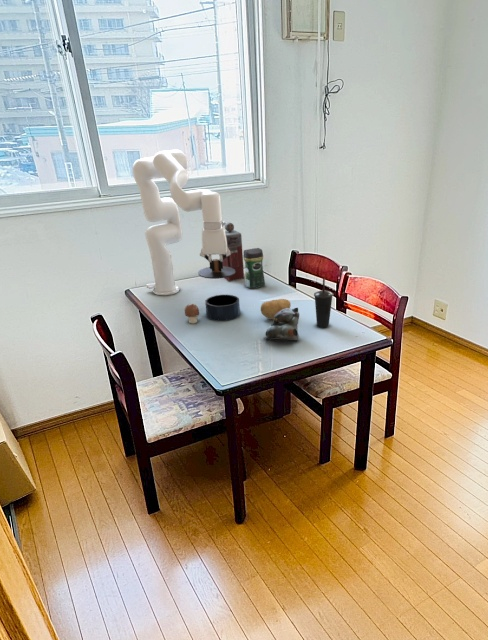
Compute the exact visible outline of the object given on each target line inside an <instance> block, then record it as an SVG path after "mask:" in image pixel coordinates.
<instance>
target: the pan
mask: <svg viewBox="0 0 488 640" xmlns="http://www.w3.org/2000/svg"><path fill="white" fill-rule="evenodd" d="M204 304H205V313H206V318H208V319H210V320H211V321H216V322H217V321H218V322H224V321H225V322H227V321H232V320H235V319H237V318H239V317H240V315H241V305H240V304H241V303H240V298H239V297H238V296H236V295H233V294H216V295H213V296H209V297H207V298H206V299H205V301H204Z"/></svg>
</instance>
